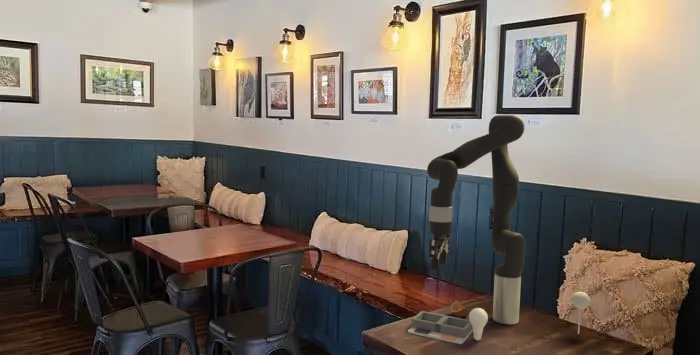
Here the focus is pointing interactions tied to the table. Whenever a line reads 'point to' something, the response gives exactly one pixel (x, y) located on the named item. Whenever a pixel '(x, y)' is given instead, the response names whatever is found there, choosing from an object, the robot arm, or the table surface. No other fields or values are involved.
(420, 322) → the socket board
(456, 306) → the fruit slice
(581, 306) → the lollipop
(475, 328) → the lightbulb
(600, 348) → the table surface
